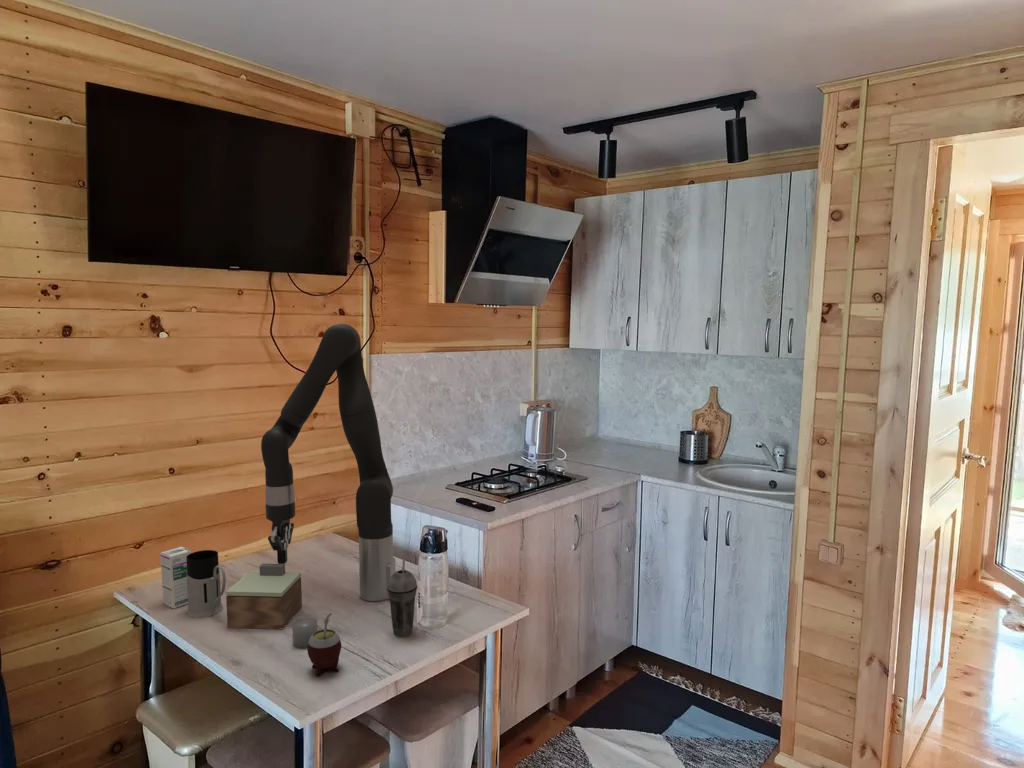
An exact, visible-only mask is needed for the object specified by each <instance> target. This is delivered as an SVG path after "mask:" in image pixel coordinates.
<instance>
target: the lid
mask: <svg viewBox="0 0 1024 768" xmlns="http://www.w3.org/2000/svg"><path fill="white" fill-rule="evenodd" d="M300 577H301V578H302V573H301V572H289V571H288V572H286V563H285V564H278V563H261V564H260V565H259V571H248V572H247V573H246V574H245V575H243V576H242V577H241V578H239V580H238V581H236V582H235V583H234V584H233V585H232V586H230V587H229V588H228V589H227V590H226V591H225V596H227V595H228V596H272V597H282V596H283V595H284V594H285V593H286V592H287V591H288V590H289V589H290V587H291V586H292V585H293V584H294V583H295V582H296V581H297V580H298V579H299V578H300Z"/></svg>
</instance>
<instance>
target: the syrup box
mask: <svg viewBox="0 0 1024 768" xmlns="http://www.w3.org/2000/svg"><path fill="white" fill-rule="evenodd" d="M191 553H192V550H191V549H188V548H187V547H184V546H179V547H176V548H172V549H169V550H166V551H161V552H159V559H160V567H161V568H160V572H161V573H160V574H161V586H162V598H163V605H166V606H167V607H169V608H171V609H173V610H175V609H177V608H179V607H183V606H186V605H188V592H187V558H186V557H187V556H188V555H189V554H191Z"/></svg>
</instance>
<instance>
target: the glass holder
mask: <svg viewBox="0 0 1024 768" xmlns="http://www.w3.org/2000/svg"><path fill="white" fill-rule="evenodd" d="M186 558H187V592H188V604H187V607H188V608H187V610H186V616H187V617H189V618H194V619H195V618H196V619H199V618H201V619H202V618H203V619H204V618H208V617H212V616H214V615H217V614H219V613H221V612H223V610H224V606H223V604H222V596H223V595H224V593H225V589H226V583H227V582H226V572H225V569H224V567H223V566H222V565H220V564H219V552H218V551H216V550H213V549H209V550H208V549H203V550H198V551H194V552H191V554H189V555H188V556H187V557H186ZM220 572H221V573H220ZM221 574H222V584H221ZM221 585H222V586H221Z"/></svg>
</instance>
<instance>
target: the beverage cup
mask: <svg viewBox="0 0 1024 768" xmlns="http://www.w3.org/2000/svg"><path fill="white" fill-rule="evenodd" d="M405 563H406V551H402V570H401V569H400V570H397V571H395V573H394V574H393V575H392V576H391V577H390V579H389V582H388V587H387V590H388V595H389V598H390V599H389V604H390V605H389V606H390V614H391V616H390V617H391V625H392V630H393V636H394V637H397V638H407V637H410V636H411V635H413V628H414V617H415V616H414V615H415V605H416V604H415V603H416V602H415V601H416V595H417V589H418V584H417V580H416V578H415V576H414V575H413V574H412V572H410V571H409V570H405V565H406V564H405Z"/></svg>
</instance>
